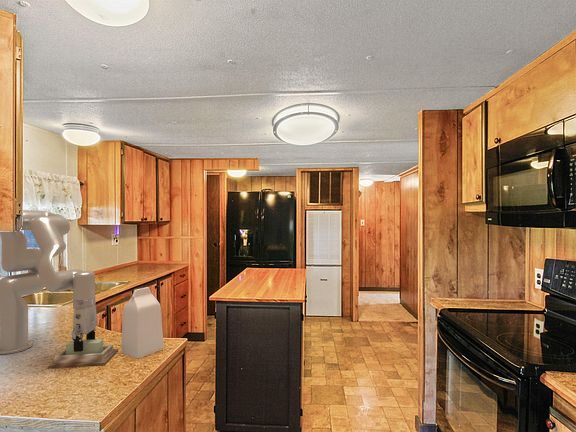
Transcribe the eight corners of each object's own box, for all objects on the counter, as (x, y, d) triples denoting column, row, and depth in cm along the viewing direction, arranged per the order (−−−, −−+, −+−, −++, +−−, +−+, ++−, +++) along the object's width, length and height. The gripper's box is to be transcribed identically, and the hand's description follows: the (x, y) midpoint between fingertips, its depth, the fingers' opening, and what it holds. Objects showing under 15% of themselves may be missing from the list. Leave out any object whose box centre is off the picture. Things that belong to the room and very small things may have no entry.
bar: (98, 358, 129) (98, 343, 129) (66, 359, 128) (65, 344, 128) (103, 354, 133) (103, 339, 133) (72, 355, 132) (71, 340, 132)
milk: (138, 358, 131) (137, 293, 131) (121, 352, 137) (120, 289, 137) (163, 348, 141) (163, 287, 141) (147, 343, 147) (146, 284, 147)
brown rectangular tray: (47, 368, 123) (47, 359, 123) (66, 354, 136) (66, 345, 136) (104, 365, 125) (104, 356, 125) (118, 351, 138) (118, 343, 138)
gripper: (83, 308, 122) (84, 354, 122) (104, 297, 140) (104, 337, 139) (61, 309, 121) (62, 356, 121) (85, 298, 139) (85, 338, 139)
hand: (84, 346), depth 130 cm, fingers open, 9 cm apart
